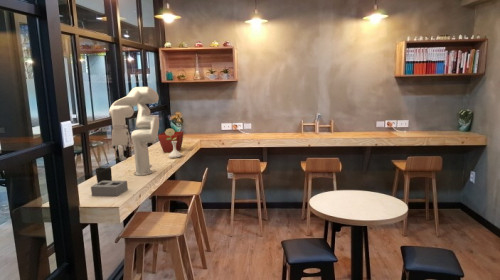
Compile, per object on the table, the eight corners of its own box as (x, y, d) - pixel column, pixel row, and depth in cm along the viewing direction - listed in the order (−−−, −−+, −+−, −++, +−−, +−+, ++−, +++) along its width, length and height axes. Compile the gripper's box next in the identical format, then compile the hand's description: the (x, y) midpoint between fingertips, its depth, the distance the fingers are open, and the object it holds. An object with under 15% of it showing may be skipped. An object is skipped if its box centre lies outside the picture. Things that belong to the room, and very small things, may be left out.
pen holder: (108, 180, 228) (106, 166, 226) (115, 182, 222) (113, 168, 220) (94, 184, 221) (92, 169, 219) (101, 186, 215) (99, 171, 213)
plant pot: (165, 149, 325) (163, 131, 322) (184, 148, 324) (183, 131, 321) (159, 153, 306) (157, 135, 303) (180, 153, 305) (178, 134, 302)
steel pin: (121, 159, 213) (119, 141, 211) (127, 159, 212) (125, 141, 210) (118, 160, 209) (116, 143, 207) (124, 160, 208) (122, 143, 206)
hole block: (103, 189, 210) (102, 180, 209) (127, 189, 207) (126, 180, 206) (91, 195, 198) (90, 186, 197) (117, 196, 196) (116, 187, 195)
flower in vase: (183, 155, 294) (181, 127, 289) (179, 158, 283) (177, 129, 278) (169, 155, 295) (166, 127, 291) (164, 159, 284) (162, 129, 280)
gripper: (135, 126, 209) (138, 155, 213) (110, 126, 212) (113, 155, 215) (129, 127, 202) (132, 157, 205) (103, 128, 205) (106, 158, 208)
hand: (122, 156), depth 210 cm, fingers closed on steel pin, 4 cm apart
